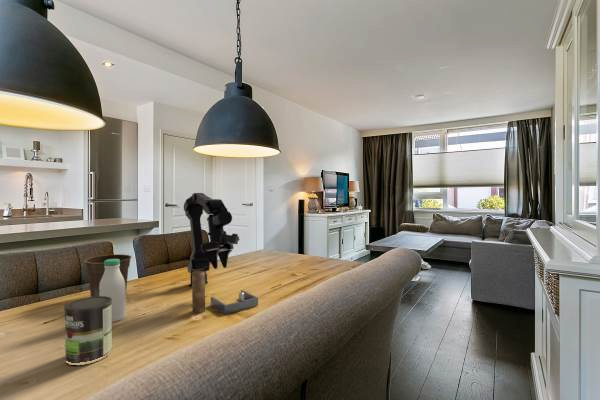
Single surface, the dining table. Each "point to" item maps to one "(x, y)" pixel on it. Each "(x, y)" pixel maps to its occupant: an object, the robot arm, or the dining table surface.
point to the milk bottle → (114, 288)
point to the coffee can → (88, 328)
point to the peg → (198, 291)
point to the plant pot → (97, 270)
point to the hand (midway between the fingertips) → (220, 268)
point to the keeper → (236, 303)
